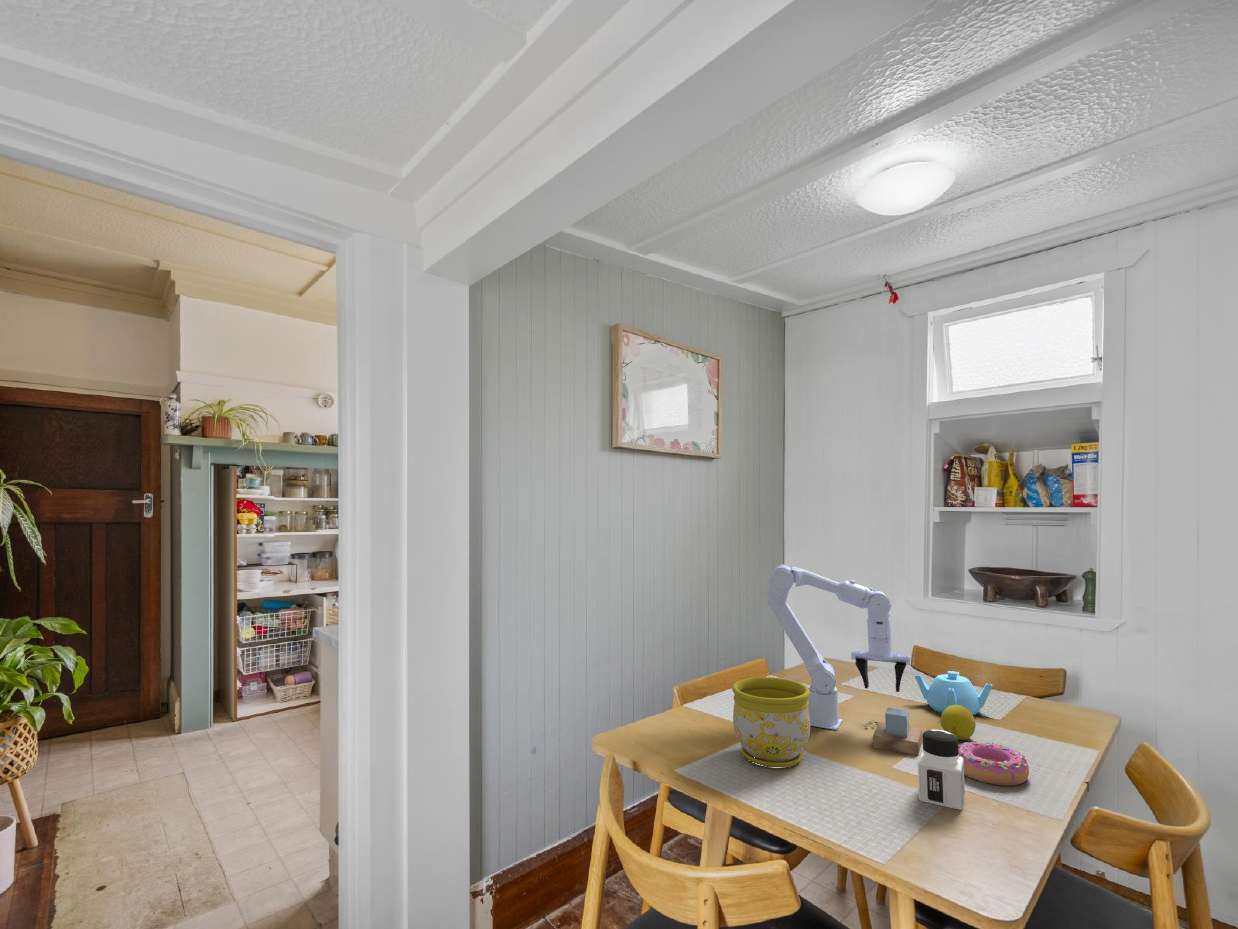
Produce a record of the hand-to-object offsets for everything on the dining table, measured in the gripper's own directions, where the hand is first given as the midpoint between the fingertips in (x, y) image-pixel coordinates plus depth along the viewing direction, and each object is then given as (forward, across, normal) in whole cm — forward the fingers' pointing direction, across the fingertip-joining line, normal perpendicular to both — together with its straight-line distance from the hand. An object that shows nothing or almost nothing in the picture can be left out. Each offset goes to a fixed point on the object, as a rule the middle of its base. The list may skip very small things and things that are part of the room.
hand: (882, 689), depth 167 cm
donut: (+11, +24, -17) cm, 32 cm away
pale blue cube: (+8, +4, -10) cm, 13 cm away
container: (+11, +15, -35) cm, 40 cm away
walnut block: (+10, +4, -9) cm, 15 cm away
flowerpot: (+10, -21, -32) cm, 40 cm away
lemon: (+11, +17, +3) cm, 21 cm away
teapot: (+11, +15, +26) cm, 32 cm away
